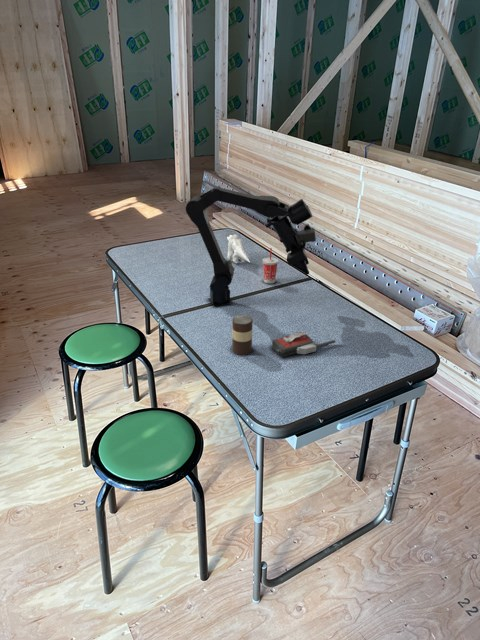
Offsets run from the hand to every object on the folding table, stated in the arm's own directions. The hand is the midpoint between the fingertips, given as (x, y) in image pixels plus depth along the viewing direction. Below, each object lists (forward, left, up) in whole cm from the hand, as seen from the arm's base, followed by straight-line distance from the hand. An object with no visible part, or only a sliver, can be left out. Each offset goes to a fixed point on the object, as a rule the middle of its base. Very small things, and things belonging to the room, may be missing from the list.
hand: (307, 269), depth 170 cm
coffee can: (-33, -18, -15) cm, 40 cm away
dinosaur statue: (-5, +49, -15) cm, 51 cm away
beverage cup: (-1, +25, -14) cm, 29 cm away
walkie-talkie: (-15, -24, -15) cm, 32 cm away
